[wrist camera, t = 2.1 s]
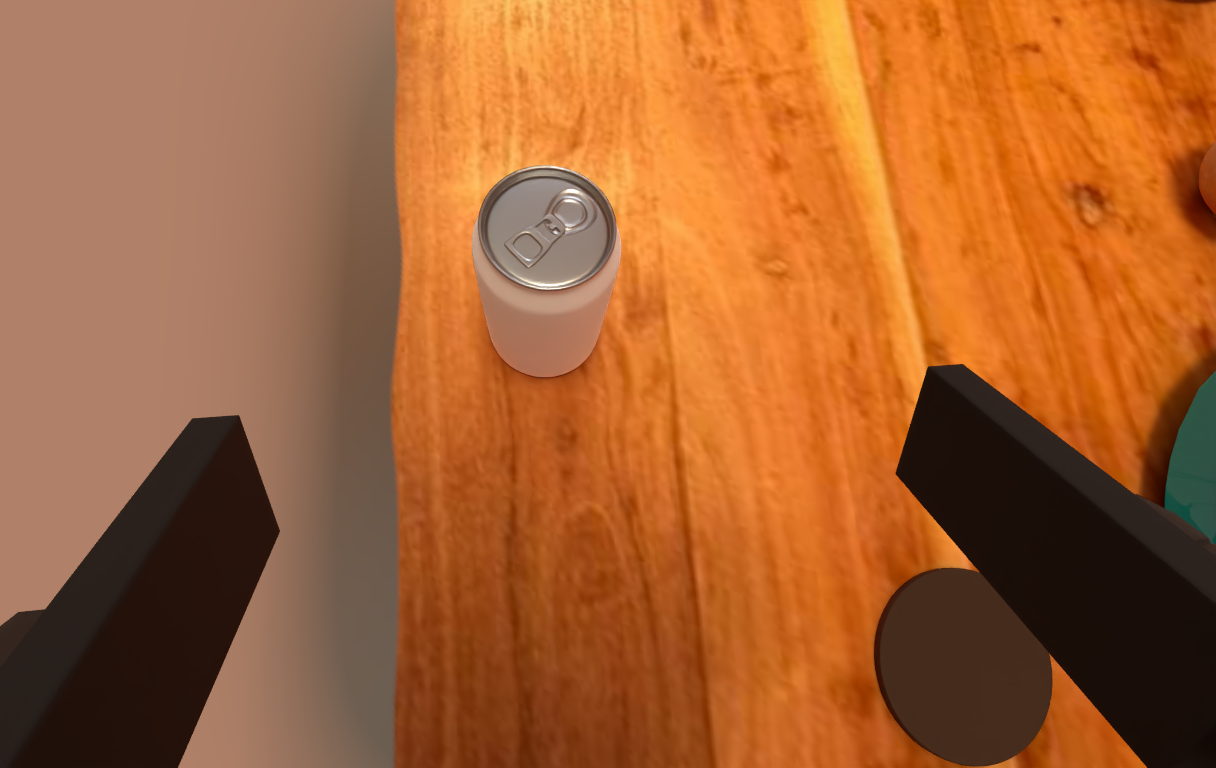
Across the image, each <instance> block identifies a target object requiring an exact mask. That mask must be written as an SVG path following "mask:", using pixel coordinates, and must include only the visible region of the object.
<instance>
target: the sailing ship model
mask: <svg viewBox="0 0 1216 768" xmlns="http://www.w3.org/2000/svg"><path fill="white" fill-rule="evenodd" d="M1165 509H1167V510H1169V511H1171V512H1173V513H1175V514H1177V515H1178V516H1180V517H1181V518H1182V519H1184V520H1185V521H1186V522H1188V523H1189V524H1190V525H1192V526H1193V527H1195V528H1196V529H1197V530H1199V531H1200V532H1201V533H1203V534H1204V535H1205V536H1207V537H1208V538H1209V539H1210V543H1211V544H1216V371H1215V372H1214V373H1213V374H1212V375H1211V376H1210V377H1209V378H1208V379H1207V380H1206V382H1205V383H1204V384H1203V385H1202V386H1201V387H1200V388H1199V389H1198V391H1197V394H1196V396H1195V398H1194V400H1193V402H1192V404H1191V406H1190V408H1189V410H1188V412H1187V414H1186V416H1185V418H1184V420H1183V422H1182V424H1181V426H1180V428H1179V431H1178V435H1177V438H1176V441H1175V445H1174V448H1173V451H1172V455H1171V458H1170V464H1169V470H1168V476H1167V482H1166V491H1165Z"/></svg>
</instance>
